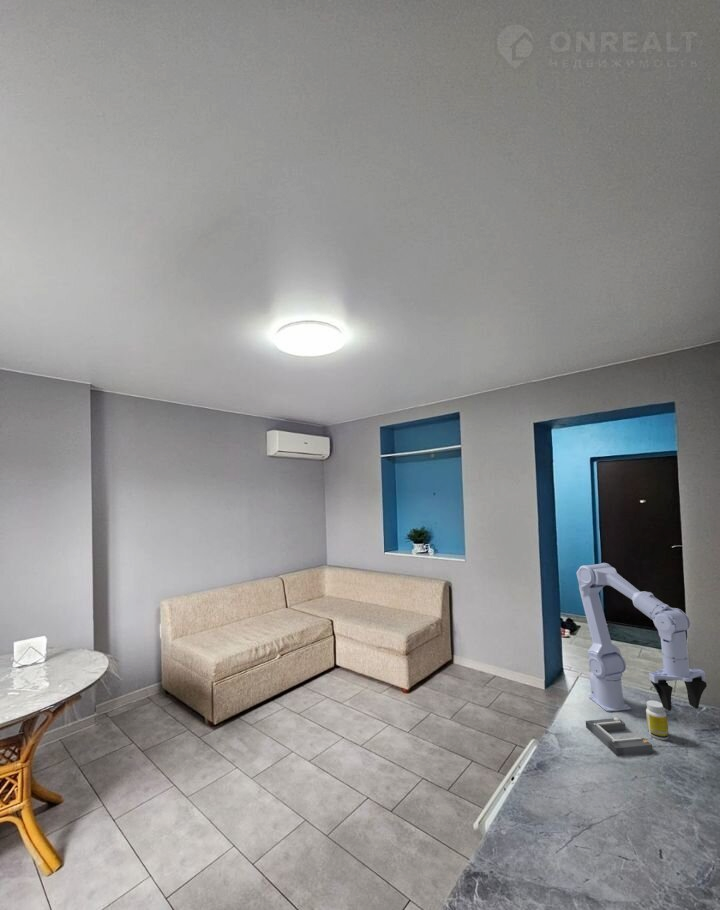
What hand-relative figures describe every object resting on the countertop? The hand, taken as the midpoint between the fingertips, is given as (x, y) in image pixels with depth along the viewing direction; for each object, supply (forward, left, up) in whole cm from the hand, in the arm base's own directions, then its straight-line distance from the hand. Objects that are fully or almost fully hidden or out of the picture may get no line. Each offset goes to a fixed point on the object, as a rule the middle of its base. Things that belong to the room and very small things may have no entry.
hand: (680, 707), depth 111 cm
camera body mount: (-5, -15, -10) cm, 19 cm away
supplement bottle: (-5, -3, -10) cm, 12 cm away
